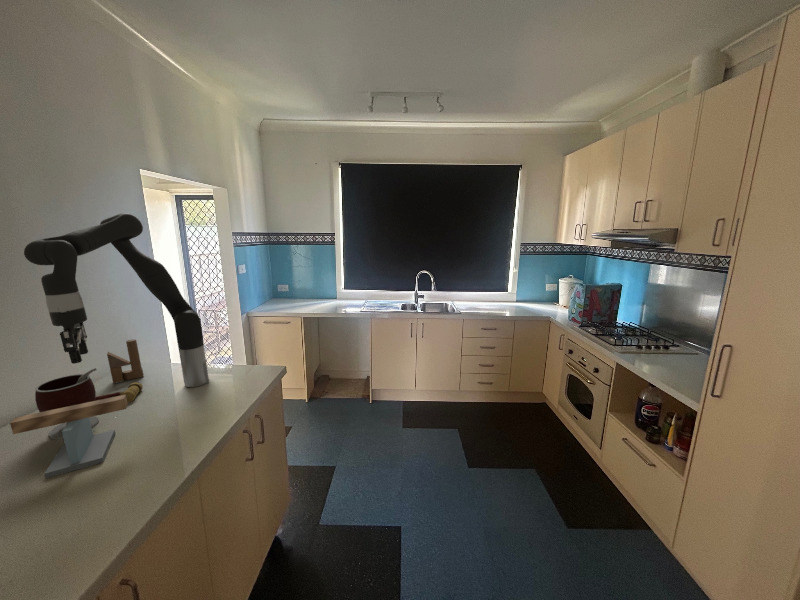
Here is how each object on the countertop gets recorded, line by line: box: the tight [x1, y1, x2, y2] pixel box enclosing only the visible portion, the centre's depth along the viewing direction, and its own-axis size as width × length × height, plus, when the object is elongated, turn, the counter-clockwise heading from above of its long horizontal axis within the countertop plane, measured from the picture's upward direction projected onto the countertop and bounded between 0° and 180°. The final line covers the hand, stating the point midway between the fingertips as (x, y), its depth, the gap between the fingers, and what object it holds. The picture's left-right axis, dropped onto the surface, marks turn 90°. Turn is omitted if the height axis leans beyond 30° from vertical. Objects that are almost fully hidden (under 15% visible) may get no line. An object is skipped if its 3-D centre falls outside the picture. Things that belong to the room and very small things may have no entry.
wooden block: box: [106, 338, 144, 384], centre depth 146 cm, size 4×11×18 cm, turn 129°
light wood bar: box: [9, 395, 129, 435], centre depth 95 cm, size 24×3×4 cm, turn 121°
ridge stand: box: [43, 418, 116, 479], centre depth 97 cm, size 12×16×12 cm
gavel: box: [95, 381, 144, 403], centre depth 129 cm, size 21×5×10 cm
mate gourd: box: [34, 367, 100, 440], centre depth 109 cm, size 16×14×20 cm
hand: (80, 358), depth 100 cm, fingers open, 8 cm apart
